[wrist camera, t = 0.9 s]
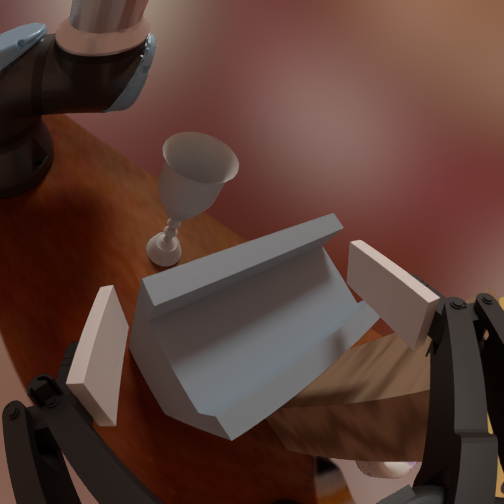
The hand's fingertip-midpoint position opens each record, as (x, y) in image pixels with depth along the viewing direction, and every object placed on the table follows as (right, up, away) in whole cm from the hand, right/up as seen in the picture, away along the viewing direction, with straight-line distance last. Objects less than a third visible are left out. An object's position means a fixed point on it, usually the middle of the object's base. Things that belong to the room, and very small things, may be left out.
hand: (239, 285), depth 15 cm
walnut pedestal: (+9, -20, +21) cm, 31 cm away
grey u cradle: (-6, -11, +19) cm, 23 cm away
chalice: (-12, +2, +24) cm, 26 cm away
